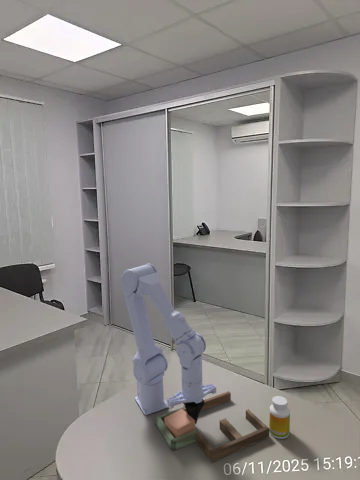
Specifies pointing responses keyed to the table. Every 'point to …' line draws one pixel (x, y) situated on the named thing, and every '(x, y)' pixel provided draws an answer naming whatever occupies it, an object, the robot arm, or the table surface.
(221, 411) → the table surface
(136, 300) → the robot arm
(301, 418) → the table surface
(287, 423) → the supplement bottle
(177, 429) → the terracotta block
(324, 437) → the table surface
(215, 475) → the table surface
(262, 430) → the frame
